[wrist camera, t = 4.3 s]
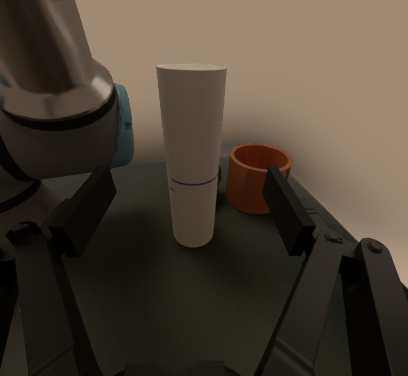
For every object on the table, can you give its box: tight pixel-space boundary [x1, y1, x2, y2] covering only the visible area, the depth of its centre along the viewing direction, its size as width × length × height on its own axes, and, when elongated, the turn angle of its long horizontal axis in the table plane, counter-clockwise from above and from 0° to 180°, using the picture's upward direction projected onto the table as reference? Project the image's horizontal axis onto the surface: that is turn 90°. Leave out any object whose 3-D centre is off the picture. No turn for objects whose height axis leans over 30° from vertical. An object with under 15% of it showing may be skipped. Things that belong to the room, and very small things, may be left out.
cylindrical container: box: [156, 64, 227, 248], centre depth 27 cm, size 7×7×25 cm
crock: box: [226, 144, 293, 215], centre depth 40 cm, size 12×12×10 cm
